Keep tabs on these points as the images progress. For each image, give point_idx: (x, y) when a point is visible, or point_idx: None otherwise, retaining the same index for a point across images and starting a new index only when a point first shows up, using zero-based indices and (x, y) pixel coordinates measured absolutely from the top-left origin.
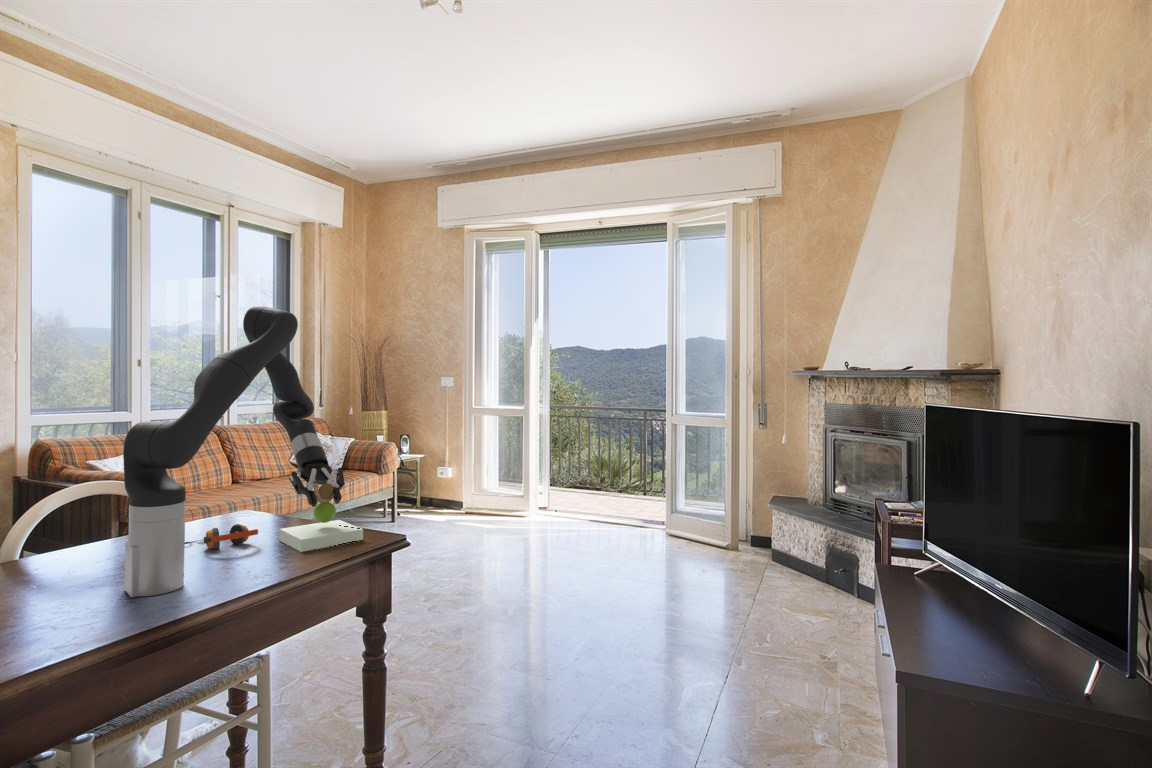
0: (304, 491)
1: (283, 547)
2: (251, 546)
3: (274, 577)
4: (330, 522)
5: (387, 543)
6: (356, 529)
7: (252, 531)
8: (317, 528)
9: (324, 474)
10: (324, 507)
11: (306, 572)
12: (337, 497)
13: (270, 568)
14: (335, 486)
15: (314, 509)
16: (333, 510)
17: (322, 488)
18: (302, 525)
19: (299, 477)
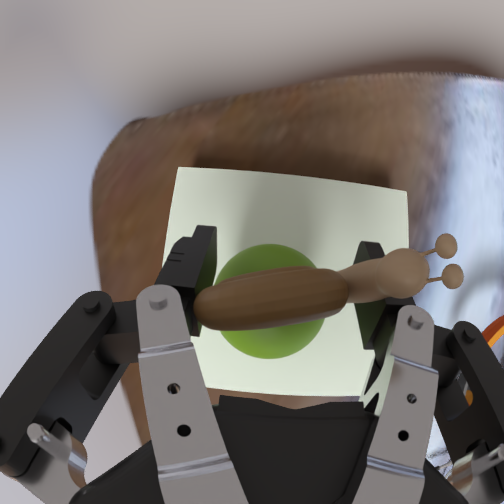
0: (437, 330)
1: None
2: None
3: (462, 97)
4: (202, 363)
5: (162, 115)
6: (196, 179)
7: (497, 326)
8: None
9: (226, 452)
10: (298, 258)
11: (416, 74)
12: (213, 233)
13: (466, 143)
14: (174, 295)
15: (322, 323)
16: (246, 249)
17: (328, 270)
18: (313, 393)
19: (477, 462)
